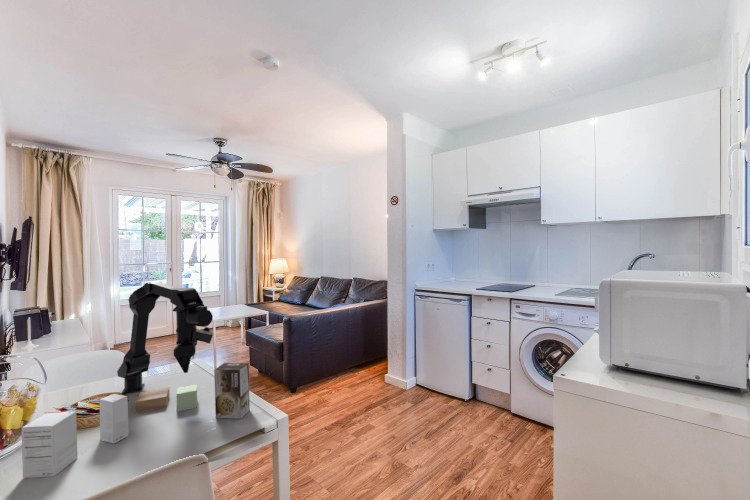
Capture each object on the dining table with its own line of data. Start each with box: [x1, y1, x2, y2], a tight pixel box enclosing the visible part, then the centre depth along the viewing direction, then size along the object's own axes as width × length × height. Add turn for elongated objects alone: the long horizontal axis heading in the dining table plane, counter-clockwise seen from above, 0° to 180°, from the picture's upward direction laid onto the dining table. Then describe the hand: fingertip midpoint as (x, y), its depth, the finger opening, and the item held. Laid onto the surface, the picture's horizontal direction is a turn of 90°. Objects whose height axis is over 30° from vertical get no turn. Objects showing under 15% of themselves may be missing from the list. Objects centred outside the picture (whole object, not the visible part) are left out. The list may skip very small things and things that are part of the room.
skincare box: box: [99, 393, 129, 444], centre depth 97 cm, size 6×4×12 cm
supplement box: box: [21, 411, 78, 479], centre depth 84 cm, size 7×7×13 cm
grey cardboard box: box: [213, 362, 251, 420], centre depth 110 cm, size 9×6×16 cm
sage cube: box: [176, 384, 198, 412], centre depth 117 cm, size 6×6×6 cm
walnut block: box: [134, 386, 171, 414], centre depth 118 cm, size 9×9×4 cm
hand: (187, 368), depth 117 cm, fingers open, 9 cm apart
